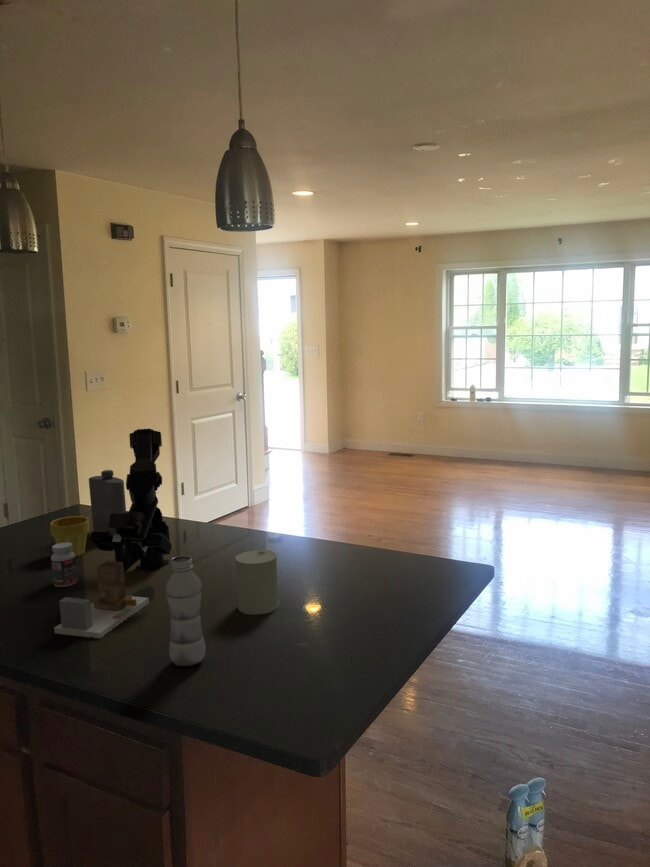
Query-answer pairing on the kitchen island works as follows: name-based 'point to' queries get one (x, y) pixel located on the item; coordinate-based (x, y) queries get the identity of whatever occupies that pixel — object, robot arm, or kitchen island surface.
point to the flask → (106, 499)
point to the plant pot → (71, 532)
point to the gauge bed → (92, 617)
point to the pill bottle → (63, 565)
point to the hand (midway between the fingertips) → (117, 576)
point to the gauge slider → (112, 587)
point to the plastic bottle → (185, 613)
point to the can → (257, 582)
